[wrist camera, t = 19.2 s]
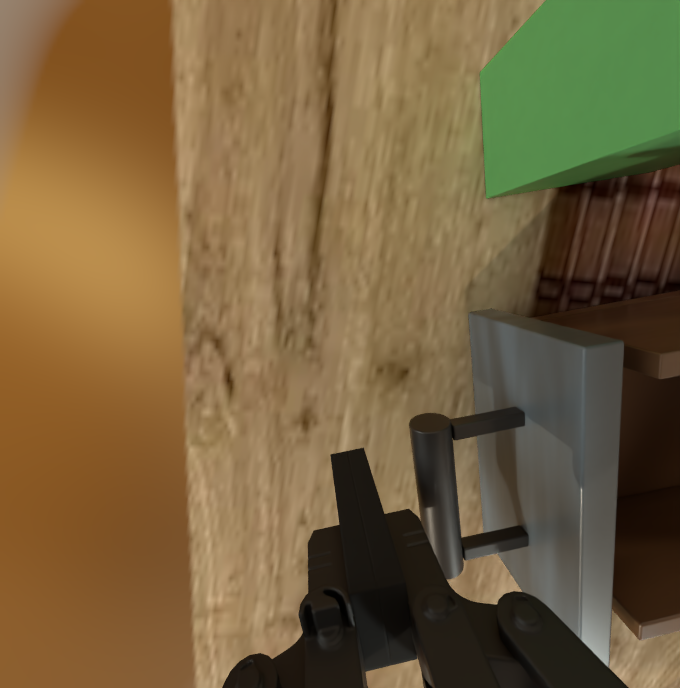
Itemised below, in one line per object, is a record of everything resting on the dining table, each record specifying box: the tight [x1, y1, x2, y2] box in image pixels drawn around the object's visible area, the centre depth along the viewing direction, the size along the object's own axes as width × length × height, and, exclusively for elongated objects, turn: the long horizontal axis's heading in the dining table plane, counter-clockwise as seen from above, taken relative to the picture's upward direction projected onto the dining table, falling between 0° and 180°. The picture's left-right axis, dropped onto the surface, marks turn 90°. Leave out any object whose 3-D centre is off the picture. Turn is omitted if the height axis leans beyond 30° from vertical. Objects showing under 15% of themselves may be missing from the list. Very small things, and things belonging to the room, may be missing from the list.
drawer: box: [409, 290, 680, 668], centre depth 14 cm, size 19×12×7 cm, turn 99°
